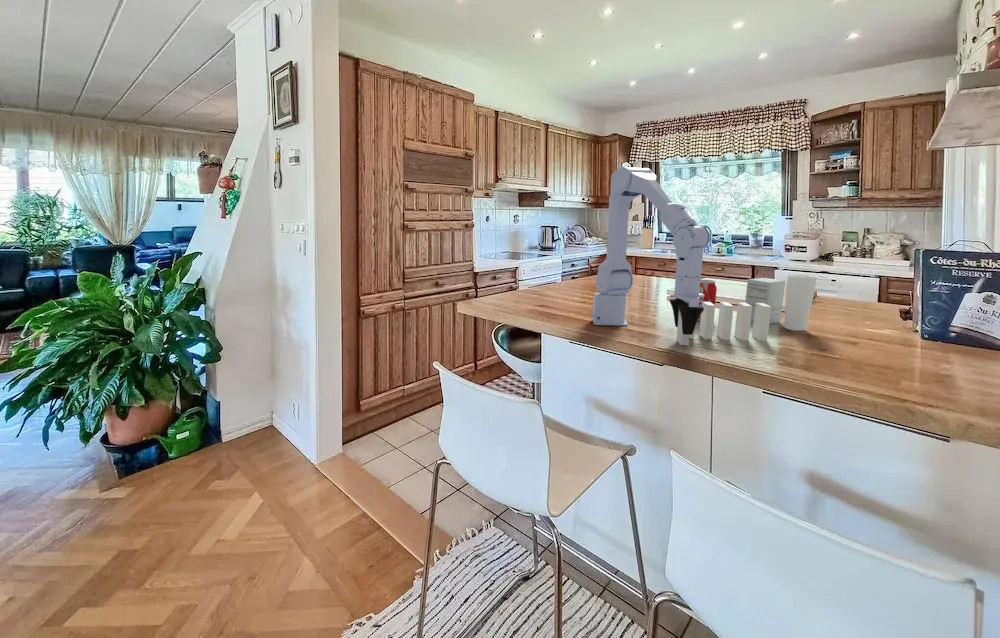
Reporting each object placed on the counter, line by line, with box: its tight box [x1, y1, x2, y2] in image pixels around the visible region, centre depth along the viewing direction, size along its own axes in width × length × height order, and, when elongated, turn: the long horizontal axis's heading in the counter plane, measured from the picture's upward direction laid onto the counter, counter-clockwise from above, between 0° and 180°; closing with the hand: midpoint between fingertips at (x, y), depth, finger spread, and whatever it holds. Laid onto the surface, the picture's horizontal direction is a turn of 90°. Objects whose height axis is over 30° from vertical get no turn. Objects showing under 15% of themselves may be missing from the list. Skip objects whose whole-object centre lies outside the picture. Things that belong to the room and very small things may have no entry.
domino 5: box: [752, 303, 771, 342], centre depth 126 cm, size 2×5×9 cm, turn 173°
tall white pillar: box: [783, 274, 817, 332], centre depth 135 cm, size 7×7×15 cm
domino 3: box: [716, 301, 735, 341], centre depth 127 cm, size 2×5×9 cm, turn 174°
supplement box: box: [744, 277, 786, 325], centre depth 146 cm, size 7×7×13 cm
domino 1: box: [676, 311, 690, 347], centre depth 121 cm, size 2×5×9 cm, turn 174°
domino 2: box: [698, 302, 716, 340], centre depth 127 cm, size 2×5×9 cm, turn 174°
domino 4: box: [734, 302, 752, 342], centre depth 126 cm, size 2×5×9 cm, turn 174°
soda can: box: [697, 279, 718, 323], centre depth 147 cm, size 7×7×12 cm
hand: (683, 330), depth 121 cm, fingers open, 7 cm apart
